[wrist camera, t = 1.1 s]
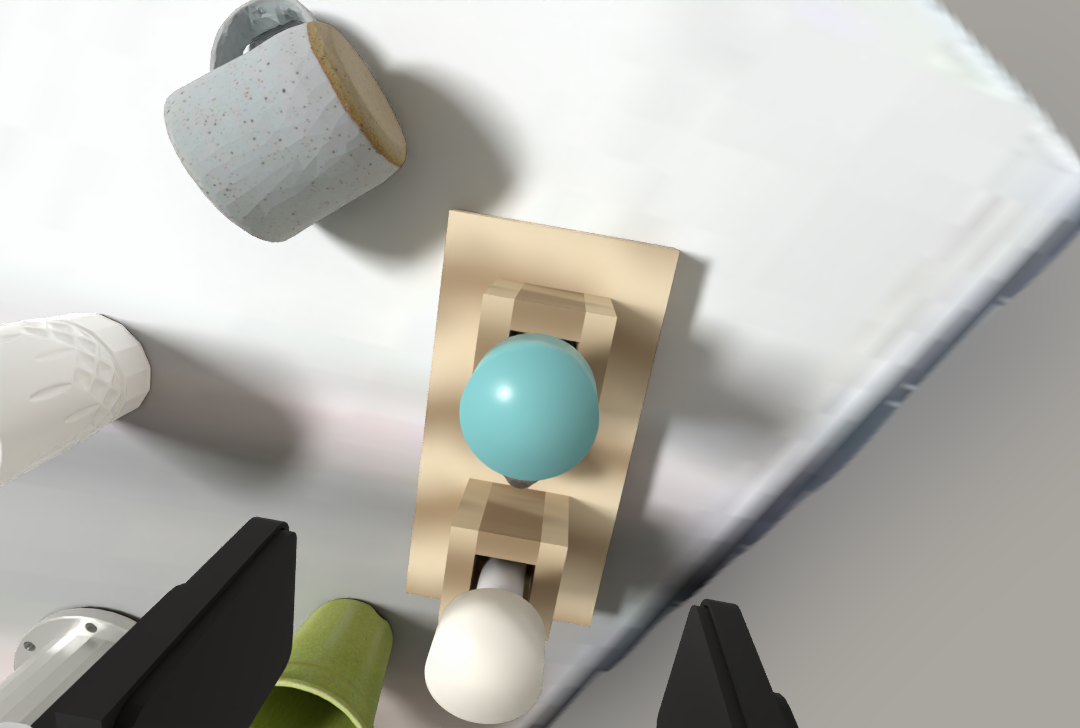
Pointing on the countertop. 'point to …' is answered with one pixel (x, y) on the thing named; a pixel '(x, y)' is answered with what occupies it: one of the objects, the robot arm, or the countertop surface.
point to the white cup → (63, 385)
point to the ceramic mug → (283, 123)
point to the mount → (621, 381)
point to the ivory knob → (488, 649)
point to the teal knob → (530, 407)
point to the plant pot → (331, 670)
